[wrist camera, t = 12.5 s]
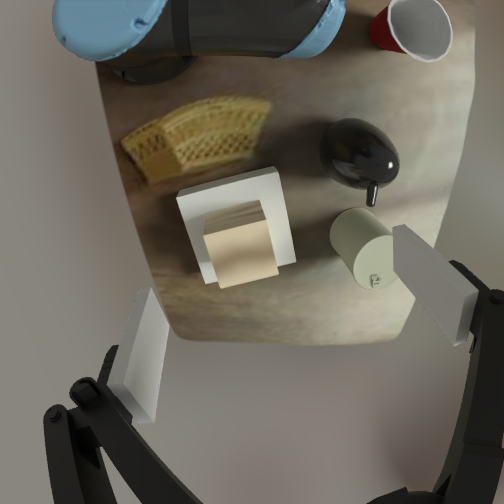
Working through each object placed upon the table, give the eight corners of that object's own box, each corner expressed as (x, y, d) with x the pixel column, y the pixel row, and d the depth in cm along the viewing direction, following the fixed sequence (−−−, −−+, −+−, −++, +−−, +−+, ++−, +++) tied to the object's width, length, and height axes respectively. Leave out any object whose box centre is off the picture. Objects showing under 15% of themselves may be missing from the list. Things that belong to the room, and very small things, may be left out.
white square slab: (179, 190, 49) (176, 197, 45) (273, 165, 48) (278, 171, 45) (206, 271, 56) (205, 283, 52) (291, 250, 55) (296, 261, 52)
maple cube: (205, 213, 47) (202, 235, 40) (259, 199, 47) (266, 219, 39) (220, 260, 50) (220, 288, 43) (270, 247, 50) (278, 274, 43)
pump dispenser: (305, 170, 49) (336, 200, 36) (322, 108, 45) (362, 114, 31) (361, 186, 51) (406, 219, 37) (379, 127, 47) (432, 143, 33)
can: (325, 255, 56) (347, 293, 46) (333, 205, 52) (360, 235, 42) (371, 255, 57) (400, 291, 47) (381, 209, 53) (415, 237, 42)
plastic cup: (358, 64, 42) (395, 58, 31) (348, 3, 37) (382, -18, 26) (415, 67, 42) (459, 66, 31) (406, 10, 37) (448, -3, 26)
